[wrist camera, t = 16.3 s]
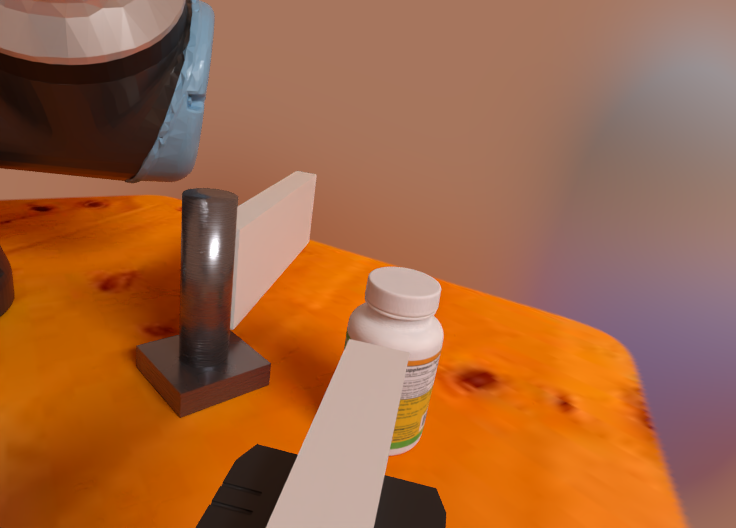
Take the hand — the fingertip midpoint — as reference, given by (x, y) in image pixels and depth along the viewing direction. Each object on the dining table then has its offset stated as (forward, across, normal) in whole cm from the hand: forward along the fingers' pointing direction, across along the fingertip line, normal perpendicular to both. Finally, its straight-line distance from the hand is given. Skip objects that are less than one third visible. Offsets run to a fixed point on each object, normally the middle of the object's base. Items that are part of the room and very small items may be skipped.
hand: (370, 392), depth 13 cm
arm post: (+16, -12, -13) cm, 24 cm away
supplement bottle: (+15, 0, -13) cm, 20 cm away
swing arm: (+28, -12, -11) cm, 32 cm away
